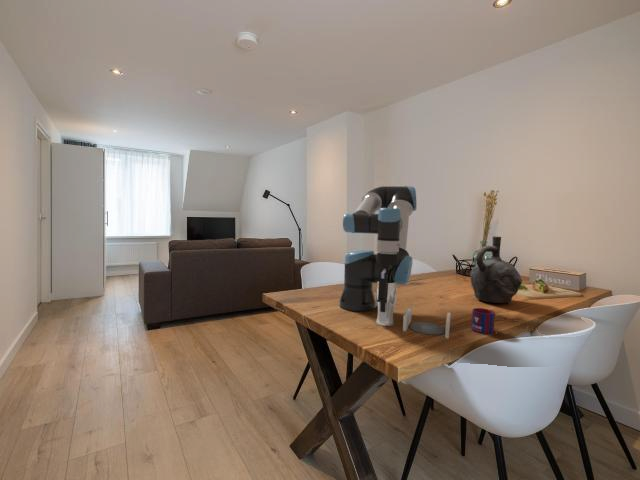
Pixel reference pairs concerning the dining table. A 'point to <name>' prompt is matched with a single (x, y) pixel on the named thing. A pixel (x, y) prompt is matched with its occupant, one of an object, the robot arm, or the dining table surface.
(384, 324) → the beer glass
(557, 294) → the cutting board
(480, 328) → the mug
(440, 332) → the slate coaster
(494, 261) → the vessel
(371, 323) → the dining table surface
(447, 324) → the low walls
